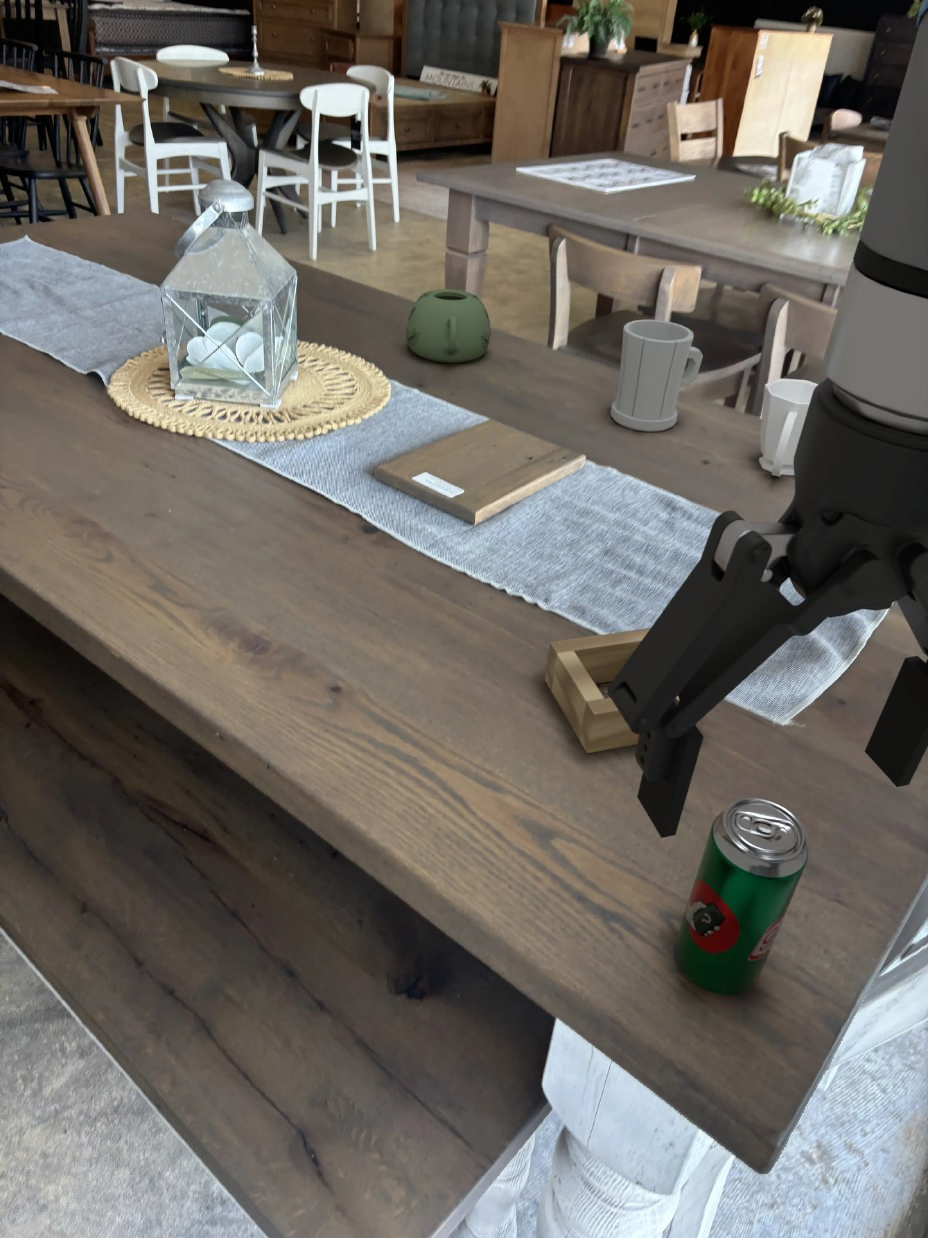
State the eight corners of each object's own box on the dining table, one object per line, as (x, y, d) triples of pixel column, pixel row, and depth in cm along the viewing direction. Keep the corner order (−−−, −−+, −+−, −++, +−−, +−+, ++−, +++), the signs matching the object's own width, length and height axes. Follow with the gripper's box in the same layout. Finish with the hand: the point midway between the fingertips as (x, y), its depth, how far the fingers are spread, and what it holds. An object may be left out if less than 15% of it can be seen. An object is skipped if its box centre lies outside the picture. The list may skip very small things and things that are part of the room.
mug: (404, 336, 143) (405, 280, 138) (485, 338, 145) (489, 283, 140) (407, 373, 131) (408, 313, 126) (496, 376, 132) (500, 316, 127)
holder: (692, 734, 71) (702, 695, 69) (586, 753, 69) (594, 714, 66) (641, 664, 78) (649, 627, 76) (544, 680, 76) (549, 641, 73)
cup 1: (632, 397, 128) (647, 311, 121) (692, 414, 124) (711, 327, 117) (598, 420, 121) (611, 330, 114) (661, 439, 117) (678, 347, 110)
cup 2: (819, 460, 114) (842, 386, 108) (806, 500, 105) (830, 421, 99) (752, 445, 117) (770, 372, 111) (733, 482, 108) (753, 405, 102)
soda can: (752, 1014, 52) (810, 879, 45) (665, 982, 53) (708, 846, 46) (763, 943, 56) (817, 809, 49) (681, 915, 57) (723, 781, 50)
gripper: (1096, 344, 40) (926, 705, 53) (573, 378, 33) (521, 781, 46) (1259, 413, 34) (1024, 799, 47) (667, 471, 28) (578, 902, 40)
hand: (775, 791), depth 46 cm, fingers open, 13 cm apart
